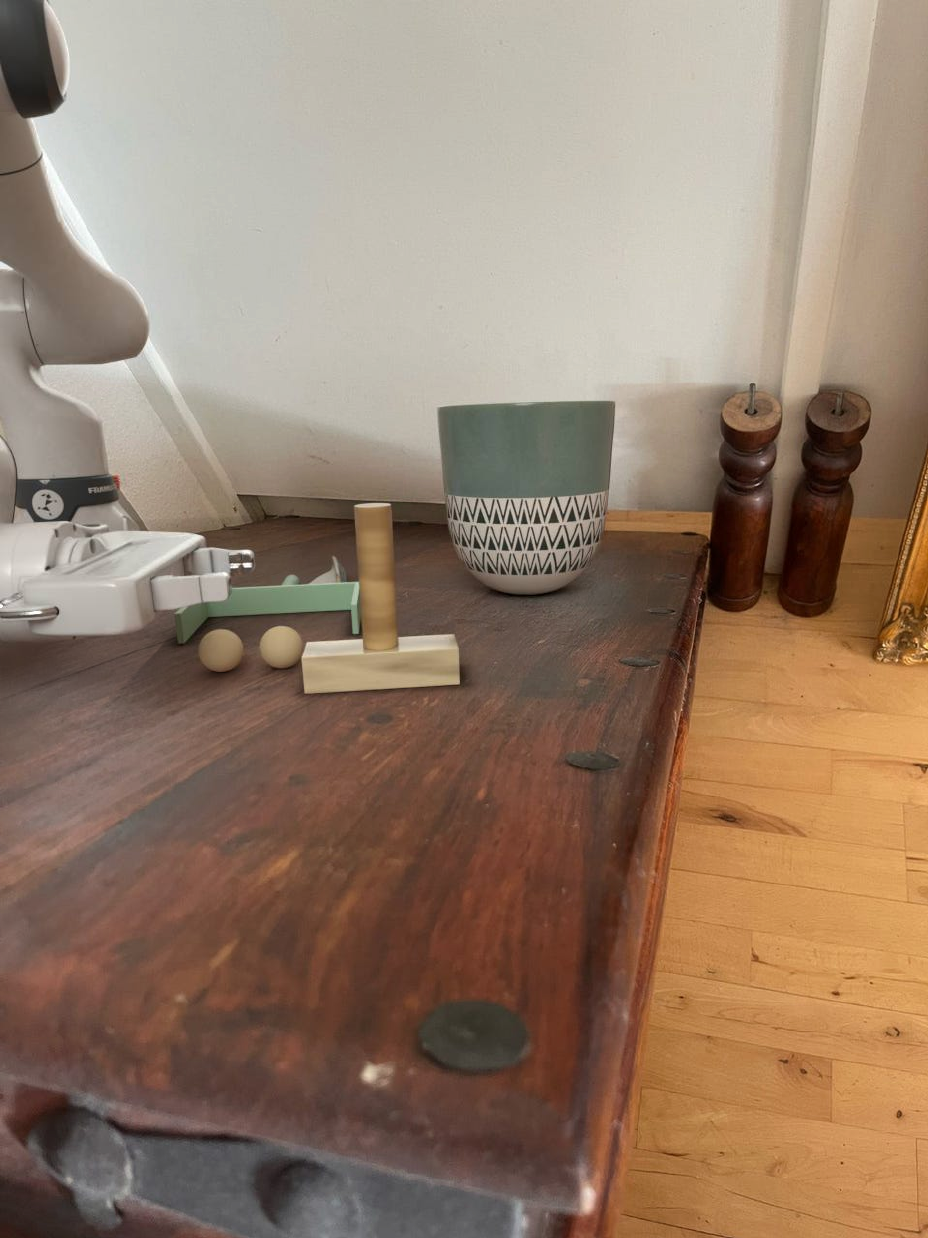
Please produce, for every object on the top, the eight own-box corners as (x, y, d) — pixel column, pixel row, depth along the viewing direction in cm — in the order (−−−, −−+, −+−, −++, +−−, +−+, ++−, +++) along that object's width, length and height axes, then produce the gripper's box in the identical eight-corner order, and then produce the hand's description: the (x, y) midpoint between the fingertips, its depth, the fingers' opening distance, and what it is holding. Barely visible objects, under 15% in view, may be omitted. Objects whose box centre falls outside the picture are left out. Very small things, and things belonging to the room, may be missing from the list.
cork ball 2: (265, 661, 65) (261, 622, 64) (306, 659, 65) (303, 620, 65) (258, 675, 62) (254, 633, 61) (302, 672, 62) (298, 631, 61)
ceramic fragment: (349, 600, 86) (347, 567, 85) (304, 604, 85) (301, 570, 84) (343, 578, 100) (341, 550, 99) (303, 581, 98) (301, 552, 98)
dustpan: (221, 597, 90) (218, 573, 89) (364, 590, 92) (362, 566, 91) (177, 644, 71) (173, 613, 70) (358, 634, 73) (356, 604, 72)
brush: (309, 677, 61) (294, 505, 57) (455, 668, 62) (449, 499, 58) (304, 694, 57) (288, 511, 53) (460, 684, 58) (454, 504, 55)
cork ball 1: (206, 665, 65) (201, 625, 64) (248, 662, 65) (244, 623, 64) (196, 679, 61) (191, 637, 60) (241, 676, 62) (236, 634, 61)
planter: (609, 574, 97) (613, 402, 91) (612, 612, 78) (617, 399, 72) (459, 573, 100) (454, 407, 95) (427, 609, 81) (418, 405, 76)
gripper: (-35, 566, 44) (205, 555, 45) (95, 521, 64) (260, 515, 65) (-14, 667, 46) (217, 654, 47) (106, 593, 65) (267, 585, 67)
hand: (242, 572), depth 56 cm, fingers open, 8 cm apart
